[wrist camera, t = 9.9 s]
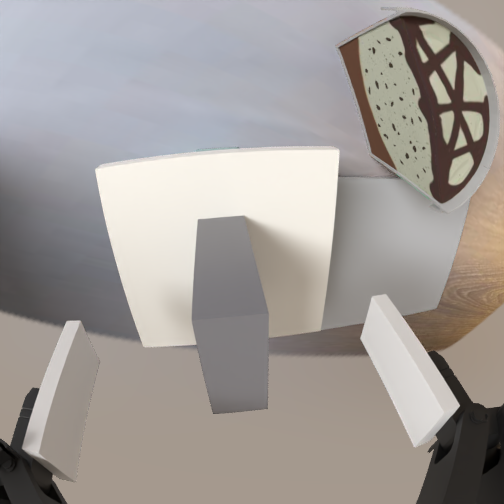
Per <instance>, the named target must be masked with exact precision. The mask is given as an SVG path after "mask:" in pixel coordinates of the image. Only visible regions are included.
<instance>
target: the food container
mask: <svg viewBox="0 0 504 504" xmlns="http://www.w3.org/2000/svg"><path fill="white" fill-rule="evenodd" d="M381 10H393V11H396V13H395V14H393V15H391V16H389V17H387V18H385V19H383V20H381V21H379V22H377V23H375V24H373V25H371V26H369V27H368V28H366V29H364V30H362V31H360V32H358V33H356V34H355V35H353V36H351V37H349V38H348V39H346V40H344V41H342V42H341V43H339V44H337V45H335V47H336V49H337V52H338V55H339V57H340V60H341V63H342V66H343V68H344V71H345V74H346V77H347V80H348V83H349V86H350V89H351V92H352V95H353V98H354V101H355V105H356V108H357V111H358V114H359V118H360V121H361V125H362V128H363V132H364V136H365V139H366V143H367V147H368V151H369V155H370V156H371V157H373V158H374V159H376V160H377V161H378V162H380V163H381V164H383V165H384V166H385V167H387V168H388V169H390V170H391V171H392V172H394V173H395V174H396V175H398V176H399V177H401V178H402V179H403V180H405V181H406V182H407V183H408V184H410V185H411V186H412V187H414V188H415V189H416V190H418V191H419V192H420V193H421V194H423V195H424V196H425V197H426V198H428V199H429V200H430V201H431V202H432V203H433V204H431V205H430V206H429V209H432V210H434V211H437V212H439V213H443V212H445V213H447V214H449V213H451V212H452V211H454V210H456V209H458V208H459V207H460V206H461V205H463V204H464V203H465V202H466V201H467V200H468V199H469V198H470V197H471V196H472V195H473V194H474V193H475V192H476V190H477V189H478V188H479V186H480V185H481V183H482V182H483V180H484V179H485V177H486V175H487V173H488V171H489V169H490V167H491V164H492V161H493V159H494V156H495V152H496V148H497V144H498V138H499V130H500V110H499V101H498V96H497V91H496V86H495V83H494V80H493V77H492V74H491V72H490V70H489V68H488V66H487V64H486V62H485V60H484V58H483V56H482V55H481V53H480V52H479V50H478V49H477V47H476V46H475V45H474V44H473V43H472V41H471V40H470V39H469V38H468V37H467V36H466V35H465V34H464V33H463V32H462V31H461V30H459V29H458V28H457V27H456V26H454V25H453V24H451V23H450V22H448V21H446V20H445V19H443V18H440V17H438V16H436V15H433V14H431V13H428V12H426V11H422V10H418V9H413V8H400V7H381Z"/></svg>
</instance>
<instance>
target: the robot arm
mask: <svg viewBox="0 0 504 504" xmlns="http://www.w3.org/2000/svg"><path fill="white" fill-rule="evenodd" d="M360 339H361V341H362V343H363V345H364V347H365V348H366V350H367V352H368V354H369V356H370V358H371V360H372V362H373V364H374V366H375V368H376V370H377V372H378V374H379V376H380V378H381V379H382V381H383V383H384V385H385V387H386V390H387V391H388V394H389V396H390V398H391V399H392V402H393V404H394V405H395V408H396V410H397V412H398V414H399V416H400V418H401V420H402V422H403V425H404V427H405V429H406V431H407V433H408V435H409V437H410V439H411V442H412V444H413V446H414V447H417V446H420V445H422V444H424V443H427V442H429V441H430V440H431V439H432V438H433V437H434V436H435V435H436V436H437V439H438V440H437V441H436V442H435V443H434V444H433V445H432V446H431V447H430V449H429V451H428V452H429V453H430V452H431V451H432V450H433V449H434V451H433V455H432V458H431V462H430V465H429V468H428V472H427V474H426V478H425V481H424V483H423V487H422V489H421V492H420V495H419V498H418V500H417V503H416V504H504V404H503V405H502V406H501V407H494V408H485V407H484V406H483V405H480V404H479V403H473V402H472V401H471V399H470V398H469V396H468V395H467V393H466V392H465V390H464V388H463V387H462V385H461V384H460V382H459V381H458V379H457V378H456V377H455V376H454V373H453V371H452V370H451V369H450V368H449V365H448V364H447V362H446V361H445V359H444V358H443V357H442V356H441V355H439V354H438V353H437V352H435V351H431V352H428V353H427V352H426V350H425V349H424V347H423V346H422V344H421V343H420V342H419V340H418V339H417V337H416V336H415V334H414V333H413V331H412V330H411V328H410V327H409V325H408V324H407V323H406V321H405V320H404V318H403V317H402V316H401V314H400V313H399V311H398V310H397V308H396V307H395V306H394V304H393V303H392V302H391V300H390V299H389V297H388V296H387V295H386V294H383V295H377V296H372V298H371V302H370V306H369V310H368V313H367V317H366V321H365V324H364V328H363V331H362V335H361V338H360ZM99 364H100V360H99V358H98V357H97V354H96V352H95V350H94V348H93V346H92V344H91V342H90V340H89V338H88V336H87V333H86V331H85V329H84V327H83V325H82V322H81V321H67V322H66V324H65V326H64V328H63V331H62V333H61V335H60V338H59V340H58V342H57V345H56V348H55V350H54V352H53V355H52V357H51V360H50V362H49V365H48V368H47V370H46V373H45V376H44V379H43V381H42V384H41V387H40V389H39V388H32V389H31V391H30V392H29V393H28V394H27V396H26V397H25V400H24V403H23V406H22V408H23V409H22V410H21V412H20V417H19V418H18V422H17V425H16V428H15V431H14V435H13V438H12V442H11V445H10V446H9V445H8V444H7V443H6V442H5V441H3V440H2V439H0V504H67V502H66V501H65V499H64V498H63V496H62V494H61V493H60V491H59V489H58V487H57V486H56V484H55V482H54V481H53V480H52V475H53V474H54V475H55V476H57V477H58V478H59V479H62V480H67V481H72V482H76V477H77V470H78V463H79V457H80V451H81V445H82V440H83V434H84V429H85V423H86V419H87V414H88V409H89V405H90V400H91V396H92V391H93V387H94V383H95V379H96V375H97V371H98V367H99ZM500 446H501V447H500Z"/></svg>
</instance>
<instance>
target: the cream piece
mask: <svg viewBox="0 0 504 504" xmlns="http://www.w3.org/2000/svg"><path fill="white" fill-rule="evenodd" d="M338 166H339V149H337V148H335V147H333V146H290V147H259V148H240V149H225V150H212V151H200V152H189V153H180V154H171V155H162V156H154V157H147V158H139V159H133V160H126V161H119V162H113V163H107V164H101V165H100V166H98V167H97V168H96V169H95V172H96V177H97V183H98V188H99V193H100V198H101V203H102V207H103V212H104V217H105V221H106V225H107V229H108V234H109V238H110V242H111V245H112V249H113V253H114V257H115V260H116V264H117V268H118V271H119V275H120V278H121V281H122V285H123V288H124V291H125V294H126V298H127V301H128V304H129V307H130V310H131V313H132V316H133V319H134V322H135V325H136V328H137V330H138V333H139V336H140V339H141V342H142V344H143V347H166V346H184V345H197V349H198V353H199V358H200V362H201V366H202V371H203V375H204V379H205V383H206V387H207V392H208V396H209V399H210V403H211V407H212V411H213V414H219V413H232V412H242V411H252V410H261V409H268V351H269V338H272V337H280V336H288V335H296V334H303V333H310V332H317V331H321V325H322V319H323V312H324V305H325V298H326V291H327V283H328V275H329V267H330V259H331V250H332V240H333V230H334V220H335V208H336V196H337V182H338Z"/></svg>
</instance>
